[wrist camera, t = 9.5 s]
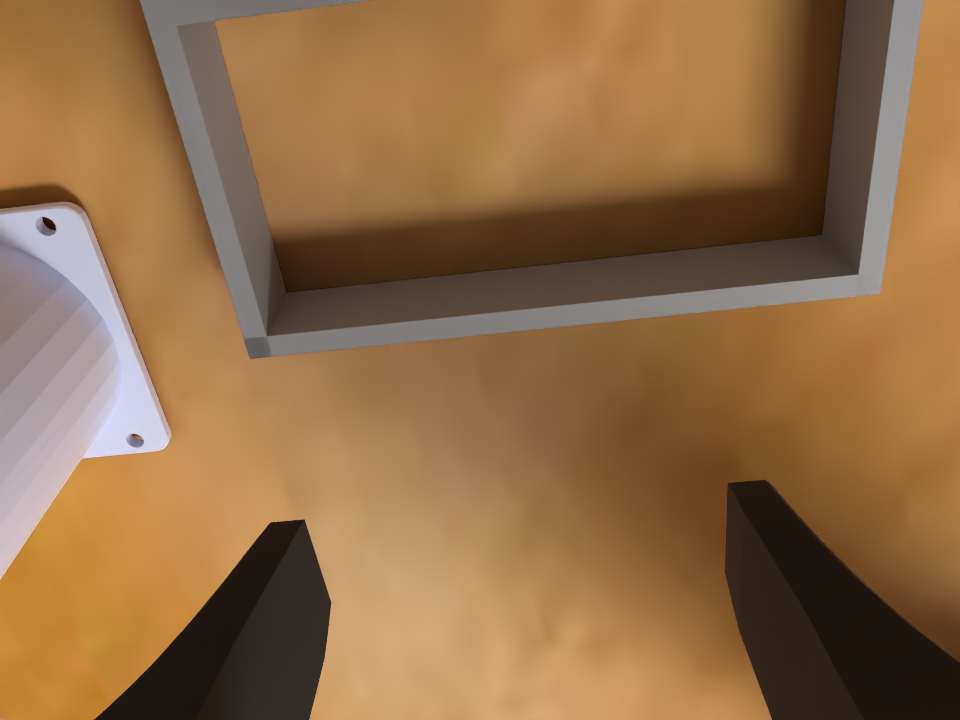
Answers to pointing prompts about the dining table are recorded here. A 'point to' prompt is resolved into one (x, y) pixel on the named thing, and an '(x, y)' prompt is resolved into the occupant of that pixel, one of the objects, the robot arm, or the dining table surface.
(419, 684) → the dining table surface
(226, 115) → the rack
